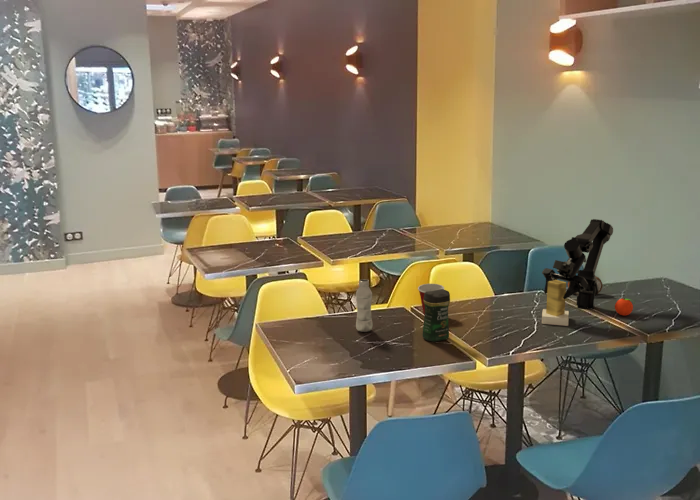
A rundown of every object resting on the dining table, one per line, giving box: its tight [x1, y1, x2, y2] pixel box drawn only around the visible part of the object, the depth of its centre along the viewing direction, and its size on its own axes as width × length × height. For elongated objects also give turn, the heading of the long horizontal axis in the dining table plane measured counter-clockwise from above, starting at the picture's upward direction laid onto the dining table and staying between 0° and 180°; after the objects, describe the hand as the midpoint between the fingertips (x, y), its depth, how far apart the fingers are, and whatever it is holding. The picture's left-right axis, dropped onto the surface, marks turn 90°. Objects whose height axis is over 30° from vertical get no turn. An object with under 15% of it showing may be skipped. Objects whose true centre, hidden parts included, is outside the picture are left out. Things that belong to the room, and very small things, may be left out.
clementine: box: [614, 298, 635, 316], centre depth 289 cm, size 8×7×7 cm
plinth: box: [541, 308, 570, 327], centre depth 284 cm, size 10×10×3 cm
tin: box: [566, 276, 603, 295], centre depth 320 cm, size 15×3×8 cm, turn 84°
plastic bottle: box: [355, 278, 373, 333], centre depth 272 cm, size 6×7×20 cm
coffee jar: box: [421, 288, 451, 343], centre depth 263 cm, size 10×8×19 cm
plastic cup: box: [417, 283, 445, 316], centre depth 291 cm, size 11×11×12 cm
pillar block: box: [545, 279, 567, 316], centre depth 282 cm, size 5×5×13 cm
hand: (554, 295), depth 281 cm, fingers open, 9 cm apart
